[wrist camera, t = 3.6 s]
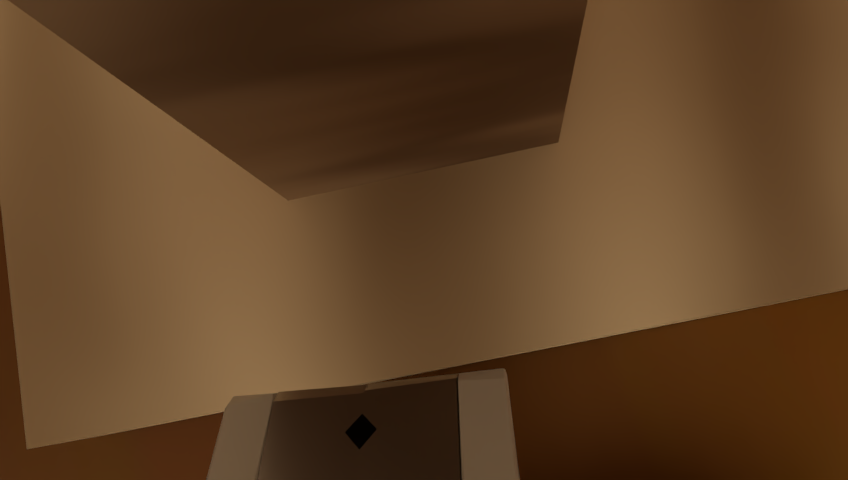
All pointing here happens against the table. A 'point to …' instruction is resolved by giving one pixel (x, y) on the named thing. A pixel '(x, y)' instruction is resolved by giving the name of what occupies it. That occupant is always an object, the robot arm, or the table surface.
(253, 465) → the robot arm
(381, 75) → the walnut block
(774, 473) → the table surface
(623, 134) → the oak board
